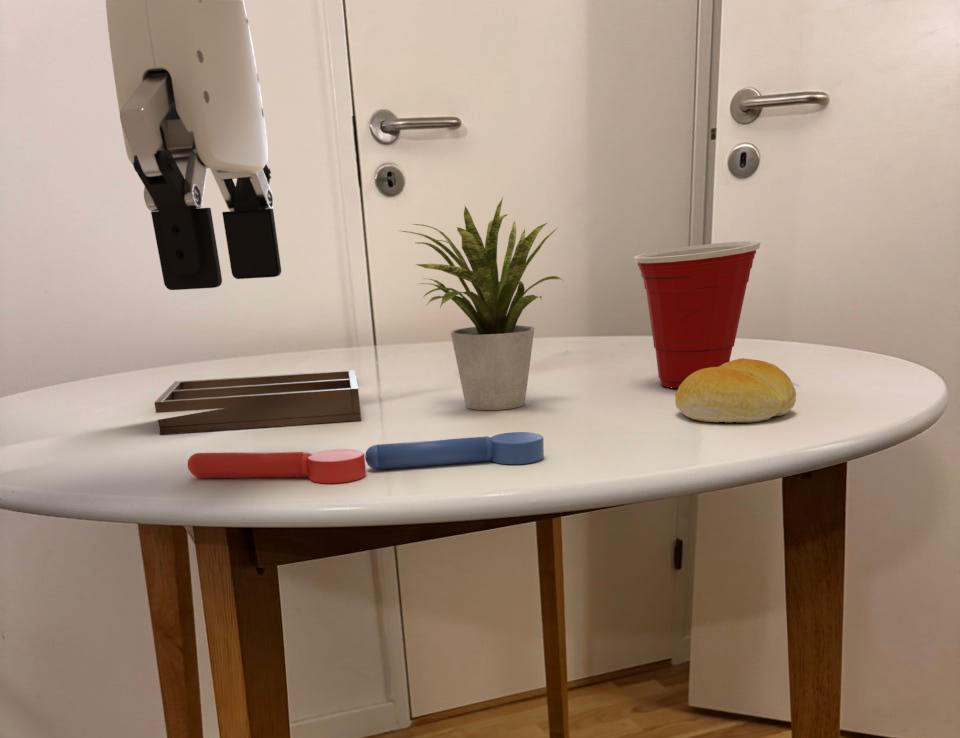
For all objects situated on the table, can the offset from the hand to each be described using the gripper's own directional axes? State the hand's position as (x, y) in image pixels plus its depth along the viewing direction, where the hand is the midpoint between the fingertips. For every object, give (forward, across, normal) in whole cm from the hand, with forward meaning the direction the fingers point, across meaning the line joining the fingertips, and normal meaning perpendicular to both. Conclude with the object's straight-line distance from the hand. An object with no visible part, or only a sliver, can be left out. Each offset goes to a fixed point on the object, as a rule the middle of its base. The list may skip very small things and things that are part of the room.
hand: (228, 282), depth 56 cm
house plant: (+12, -26, +12) cm, 31 cm away
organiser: (+12, -21, -7) cm, 25 cm away
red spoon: (+12, 0, +2) cm, 12 cm away
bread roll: (+13, -19, +32) cm, 39 cm away
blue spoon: (+12, -3, +13) cm, 18 cm away
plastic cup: (+13, -33, +30) cm, 46 cm away
